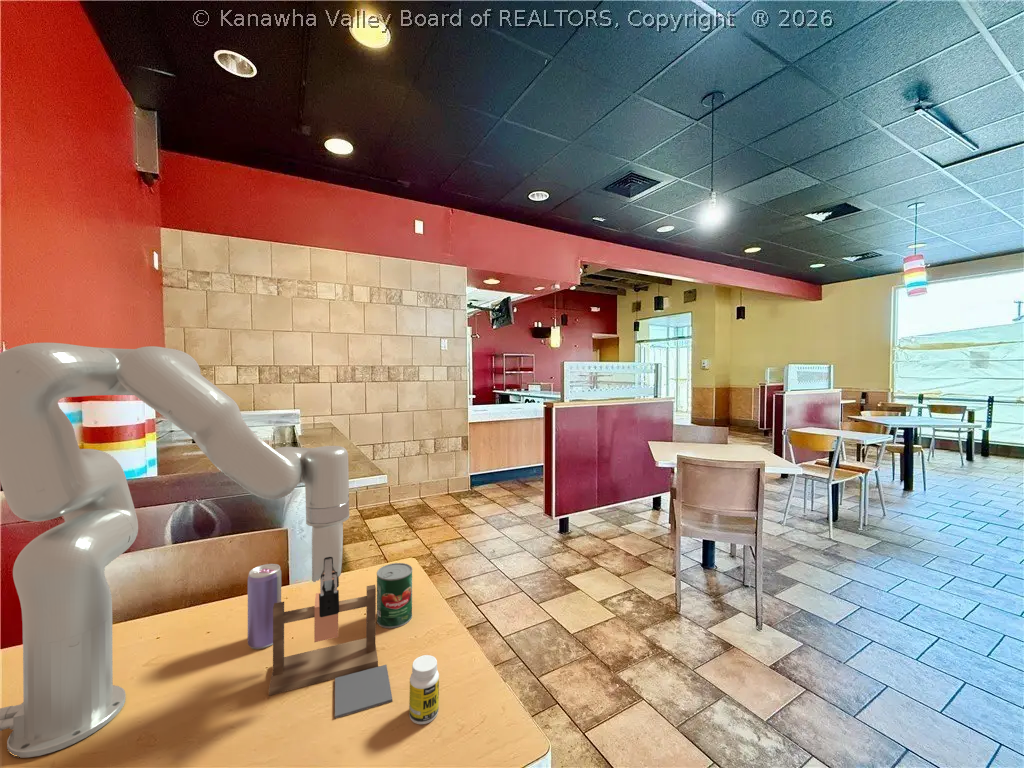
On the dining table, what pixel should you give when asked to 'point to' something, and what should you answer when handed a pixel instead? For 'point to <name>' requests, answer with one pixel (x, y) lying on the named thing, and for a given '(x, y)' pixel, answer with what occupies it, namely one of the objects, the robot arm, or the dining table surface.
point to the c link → (324, 624)
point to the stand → (322, 649)
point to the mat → (362, 691)
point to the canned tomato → (394, 595)
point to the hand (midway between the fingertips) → (329, 600)
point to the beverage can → (262, 604)
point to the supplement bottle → (424, 690)
